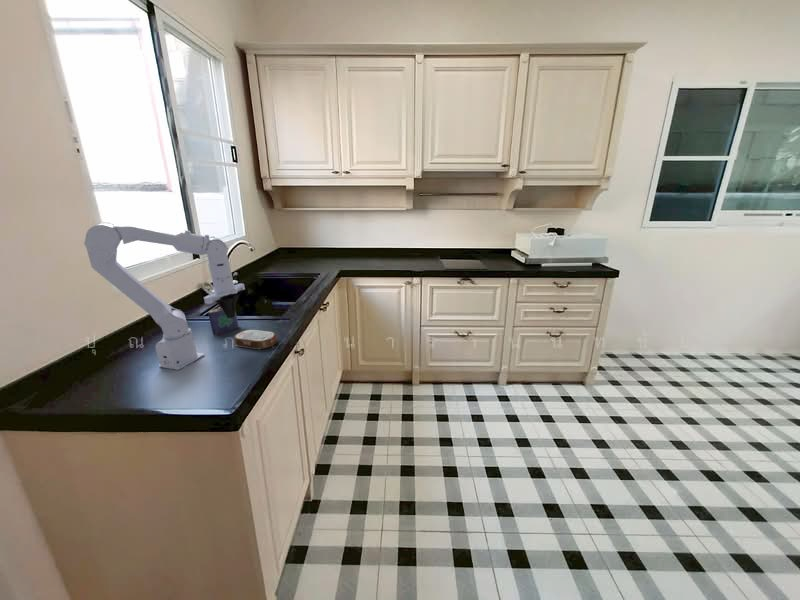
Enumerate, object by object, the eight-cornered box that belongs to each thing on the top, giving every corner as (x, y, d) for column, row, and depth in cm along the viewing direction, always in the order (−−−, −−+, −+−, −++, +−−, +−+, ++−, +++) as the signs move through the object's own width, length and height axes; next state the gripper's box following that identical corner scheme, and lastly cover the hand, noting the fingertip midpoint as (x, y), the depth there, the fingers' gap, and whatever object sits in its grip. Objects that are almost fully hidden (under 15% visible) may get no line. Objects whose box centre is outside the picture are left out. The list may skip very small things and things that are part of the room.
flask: (237, 326, 129) (231, 300, 125) (240, 328, 127) (235, 301, 123) (212, 334, 122) (205, 307, 119) (215, 336, 121) (208, 308, 117)
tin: (266, 350, 108) (282, 340, 116) (265, 340, 107) (281, 331, 115) (228, 344, 113) (247, 336, 120) (227, 336, 112) (246, 327, 120)
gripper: (213, 284, 97) (223, 327, 102) (248, 271, 110) (256, 310, 115) (194, 282, 99) (205, 325, 104) (231, 270, 112) (239, 308, 117)
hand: (231, 317), depth 109 cm, fingers closed
